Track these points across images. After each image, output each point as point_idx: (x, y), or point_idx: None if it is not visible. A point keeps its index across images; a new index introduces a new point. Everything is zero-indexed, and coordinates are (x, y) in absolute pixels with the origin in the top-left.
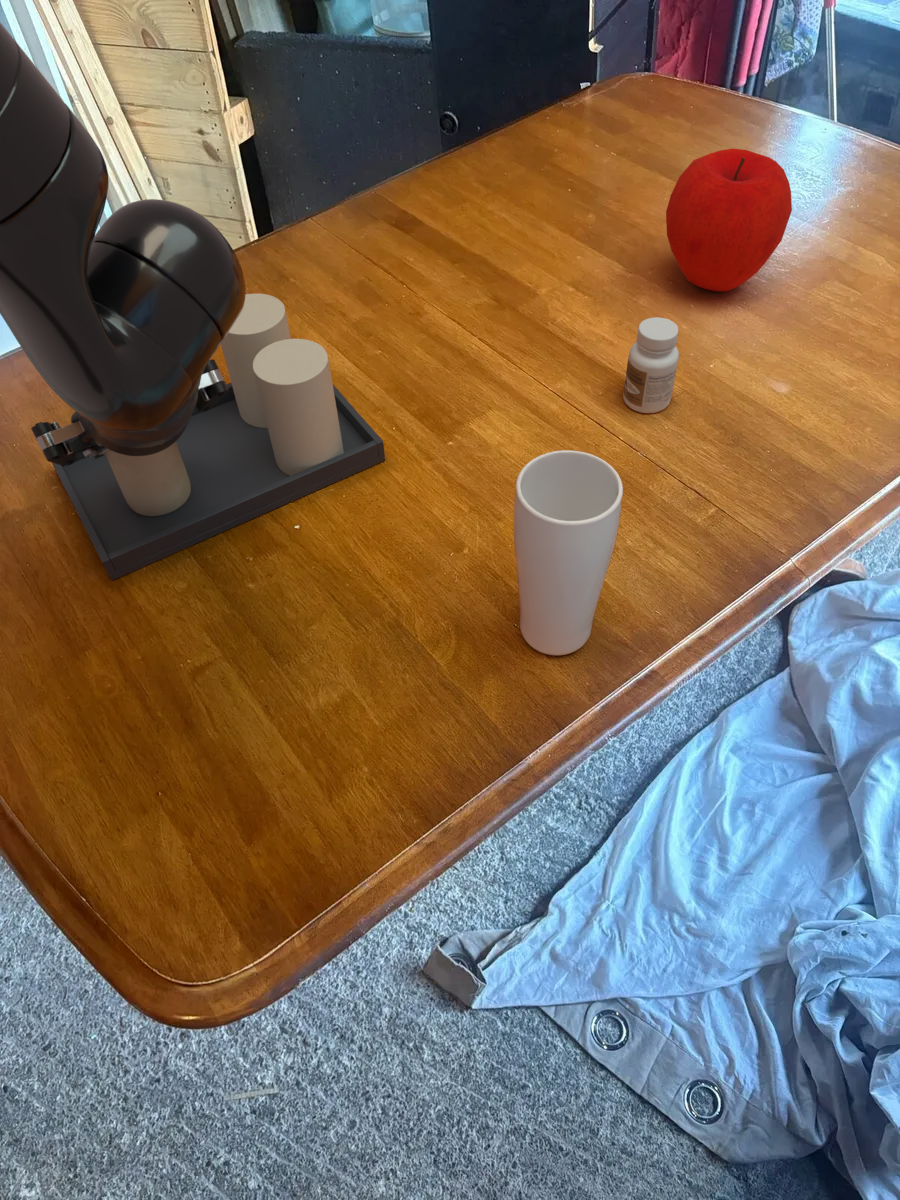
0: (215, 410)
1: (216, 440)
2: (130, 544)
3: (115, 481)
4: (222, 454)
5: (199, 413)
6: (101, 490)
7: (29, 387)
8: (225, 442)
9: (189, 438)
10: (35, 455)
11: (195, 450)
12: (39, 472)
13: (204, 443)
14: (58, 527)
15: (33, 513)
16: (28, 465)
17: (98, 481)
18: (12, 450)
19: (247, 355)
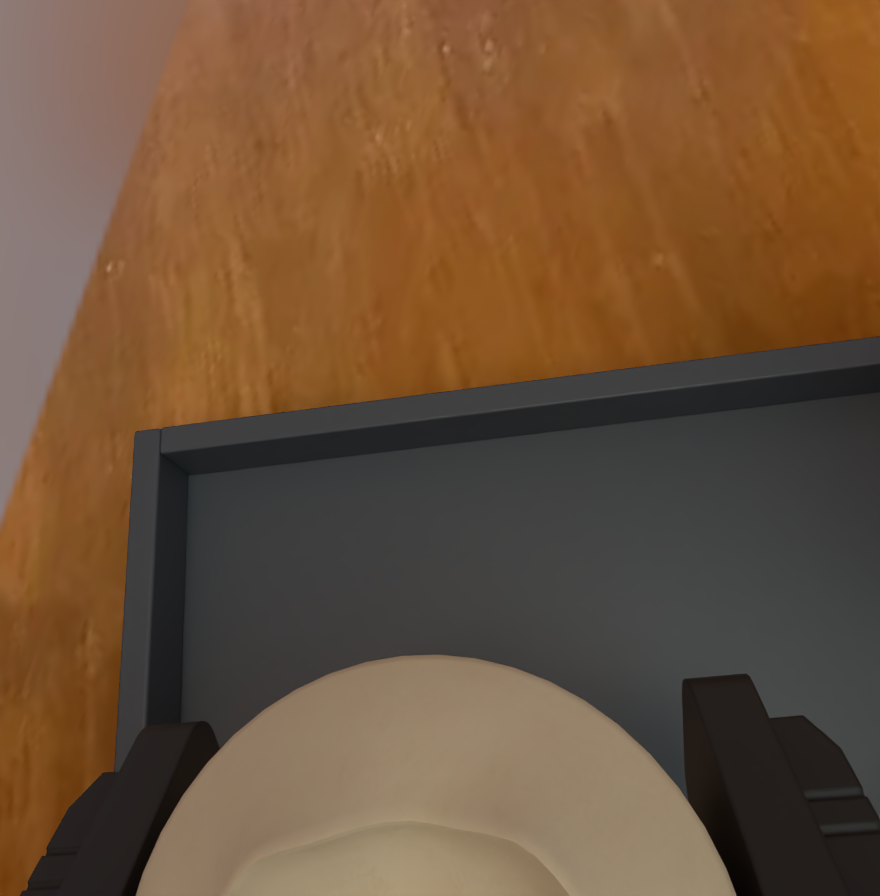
0: (859, 416)
1: (828, 617)
2: None
3: (343, 667)
4: (840, 732)
5: (784, 405)
6: (277, 692)
7: (239, 25)
8: (870, 652)
9: (707, 544)
10: (148, 343)
11: (718, 640)
12: (130, 435)
13: (768, 610)
14: (83, 780)
15: (37, 646)
16: (111, 383)
17: (282, 630)
18: (94, 288)
19: None
